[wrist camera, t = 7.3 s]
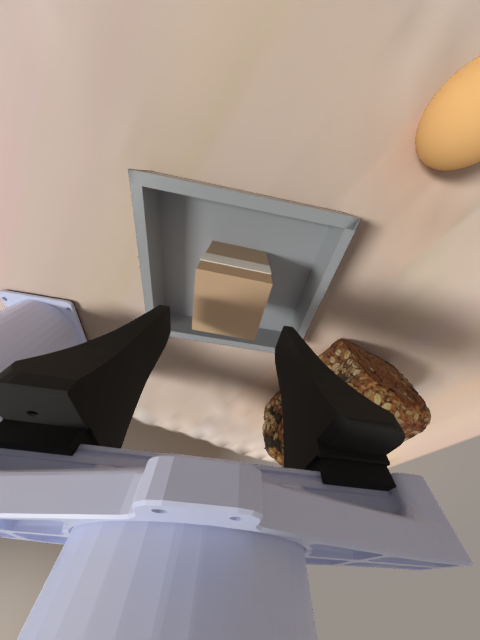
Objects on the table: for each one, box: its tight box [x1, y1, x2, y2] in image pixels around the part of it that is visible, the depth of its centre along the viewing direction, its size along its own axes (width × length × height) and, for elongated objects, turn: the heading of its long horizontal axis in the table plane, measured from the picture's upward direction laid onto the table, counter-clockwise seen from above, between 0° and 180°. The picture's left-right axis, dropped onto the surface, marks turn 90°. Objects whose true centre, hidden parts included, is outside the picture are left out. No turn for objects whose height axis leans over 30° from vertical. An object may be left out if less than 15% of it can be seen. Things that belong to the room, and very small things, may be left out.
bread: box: [263, 338, 431, 467], centre depth 26 cm, size 19×11×10 cm, turn 151°
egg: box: [415, 56, 480, 170], centre depth 11 cm, size 5×5×5 cm
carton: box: [192, 240, 273, 341], centre depth 17 cm, size 5×5×7 cm
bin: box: [128, 169, 361, 353], centre depth 19 cm, size 14×16×4 cm
